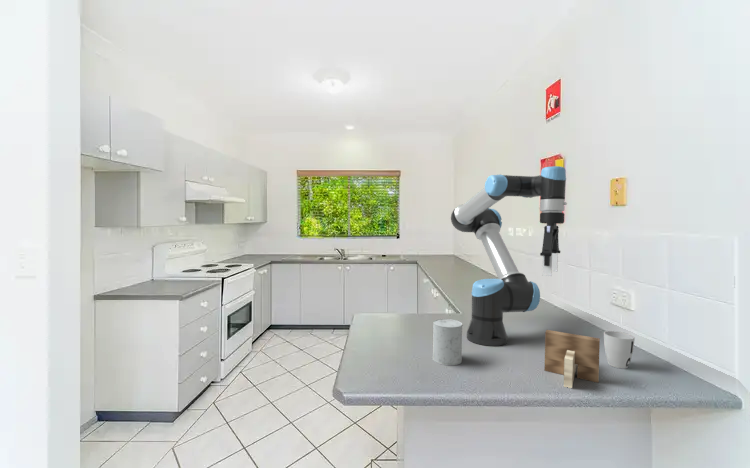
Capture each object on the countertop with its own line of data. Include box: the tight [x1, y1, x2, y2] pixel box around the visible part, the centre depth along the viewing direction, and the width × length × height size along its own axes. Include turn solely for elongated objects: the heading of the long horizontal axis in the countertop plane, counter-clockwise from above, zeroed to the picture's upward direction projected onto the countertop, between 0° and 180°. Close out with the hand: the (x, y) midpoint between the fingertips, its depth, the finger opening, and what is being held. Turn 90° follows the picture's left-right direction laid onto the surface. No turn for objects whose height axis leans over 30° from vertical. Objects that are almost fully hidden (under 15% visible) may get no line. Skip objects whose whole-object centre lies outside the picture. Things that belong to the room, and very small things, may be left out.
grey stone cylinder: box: [432, 318, 463, 366], centre depth 113 cm, size 10×10×12 cm
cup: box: [603, 330, 636, 370], centre depth 110 cm, size 8×8×10 cm
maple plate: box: [563, 350, 578, 389], centre depth 102 cm, size 20×2×8 cm, turn 146°
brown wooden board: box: [544, 329, 601, 384], centre depth 102 cm, size 14×3×12 cm, turn 56°
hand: (550, 273), depth 118 cm, fingers open, 13 cm apart
